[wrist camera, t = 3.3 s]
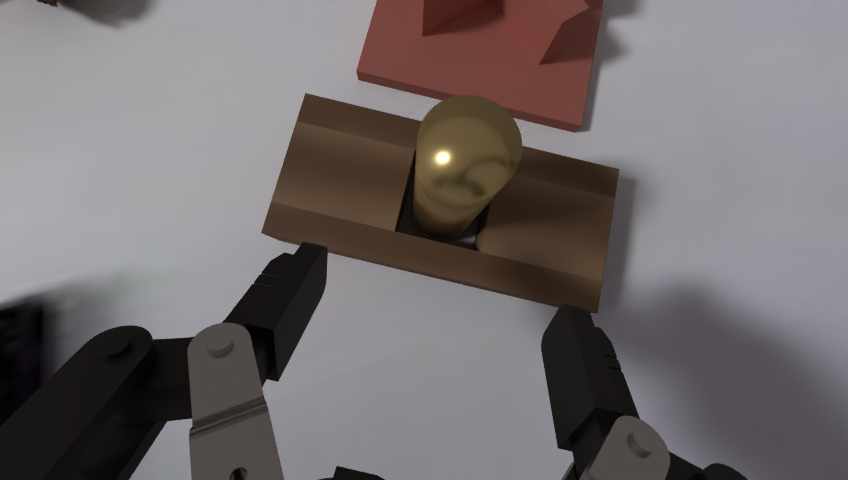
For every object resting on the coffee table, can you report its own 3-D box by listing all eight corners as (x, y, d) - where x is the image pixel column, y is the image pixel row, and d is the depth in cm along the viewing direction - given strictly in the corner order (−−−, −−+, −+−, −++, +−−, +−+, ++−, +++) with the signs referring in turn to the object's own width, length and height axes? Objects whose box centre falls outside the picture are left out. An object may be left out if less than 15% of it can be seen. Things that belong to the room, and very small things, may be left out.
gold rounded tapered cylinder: (438, 172, 25) (462, 75, 14) (482, 208, 24) (543, 139, 14) (400, 214, 24) (395, 148, 13) (445, 252, 24) (477, 216, 13)
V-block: (574, 132, 26) (614, 93, 21) (358, 79, 25) (346, 27, 21) (599, -9, 28) (641, -76, 23) (398, -59, 27) (396, -137, 22)
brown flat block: (573, 310, 24) (597, 313, 21) (279, 240, 23) (261, 232, 20) (594, 184, 25) (619, 169, 22) (317, 117, 25) (305, 93, 22)
